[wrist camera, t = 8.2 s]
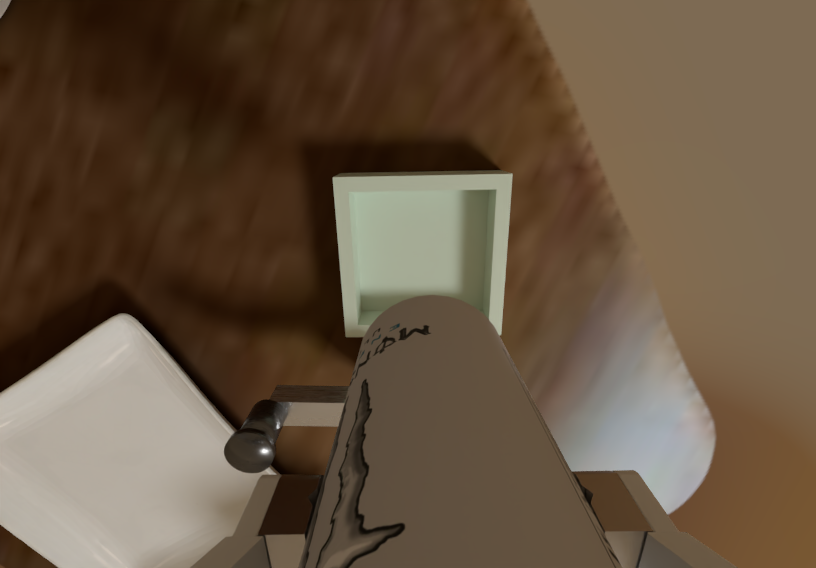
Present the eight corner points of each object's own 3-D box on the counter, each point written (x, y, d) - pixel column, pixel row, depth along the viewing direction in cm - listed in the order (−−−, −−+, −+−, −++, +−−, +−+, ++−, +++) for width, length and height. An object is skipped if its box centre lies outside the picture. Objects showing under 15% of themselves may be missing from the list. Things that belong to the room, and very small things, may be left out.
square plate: (-55, 424, 38) (-104, 454, 35) (152, 291, 33) (121, 310, 30) (142, 585, 46) (119, 623, 43) (333, 497, 41) (326, 532, 38)
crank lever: (432, 370, 29) (437, 424, 23) (429, 425, 30) (434, 488, 25) (254, 367, 29) (217, 420, 23) (262, 423, 30) (229, 485, 25)
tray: (341, 173, 29) (332, 177, 26) (501, 170, 29) (512, 173, 26) (351, 318, 34) (345, 337, 30) (492, 315, 33) (501, 334, 30)
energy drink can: (391, 266, 16) (219, 1142, 2) (523, 318, 17) (1259, 1295, 2) (341, 386, 18) (32, 1369, 3) (464, 430, 18) (666, 1422, 4)
